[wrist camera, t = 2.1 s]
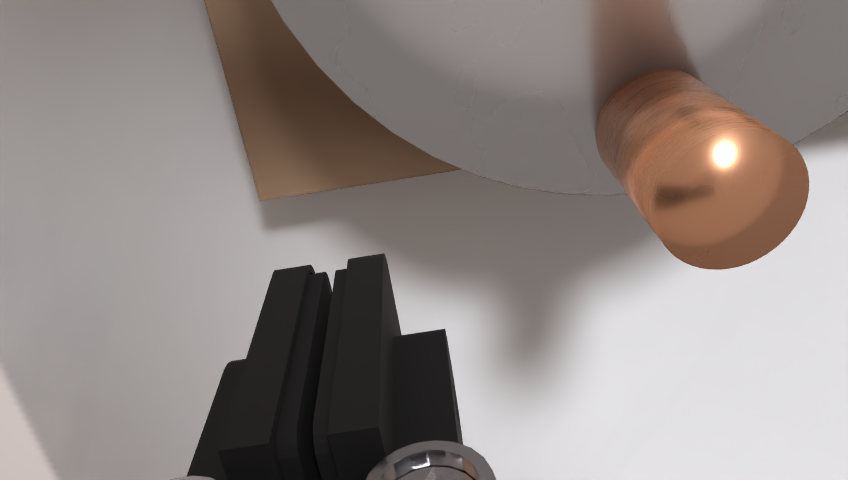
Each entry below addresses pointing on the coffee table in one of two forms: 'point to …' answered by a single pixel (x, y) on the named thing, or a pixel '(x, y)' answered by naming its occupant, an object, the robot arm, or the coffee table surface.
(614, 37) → the handwheel
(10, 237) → the coffee table surface
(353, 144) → the wheel base
